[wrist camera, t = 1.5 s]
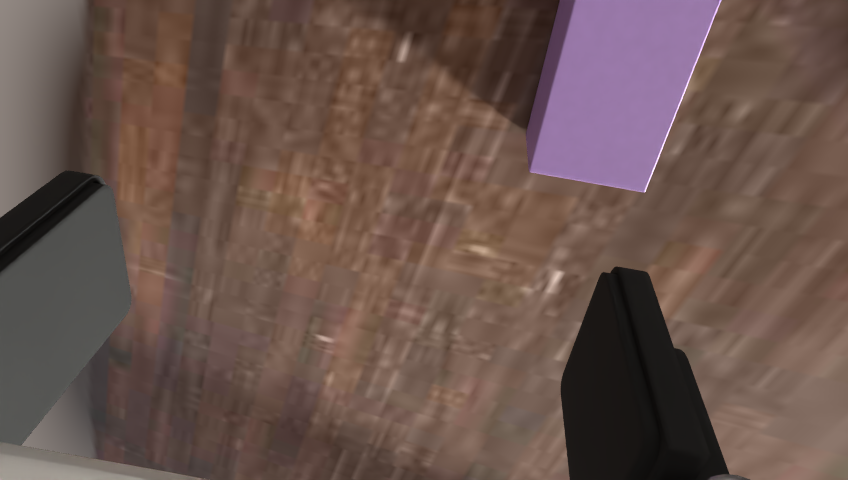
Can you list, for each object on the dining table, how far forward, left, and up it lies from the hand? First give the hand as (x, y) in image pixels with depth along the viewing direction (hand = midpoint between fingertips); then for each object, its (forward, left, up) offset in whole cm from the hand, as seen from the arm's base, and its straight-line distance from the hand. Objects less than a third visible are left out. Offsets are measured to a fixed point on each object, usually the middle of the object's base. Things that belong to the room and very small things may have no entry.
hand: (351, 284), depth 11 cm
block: (0, +7, -18) cm, 20 cm away
